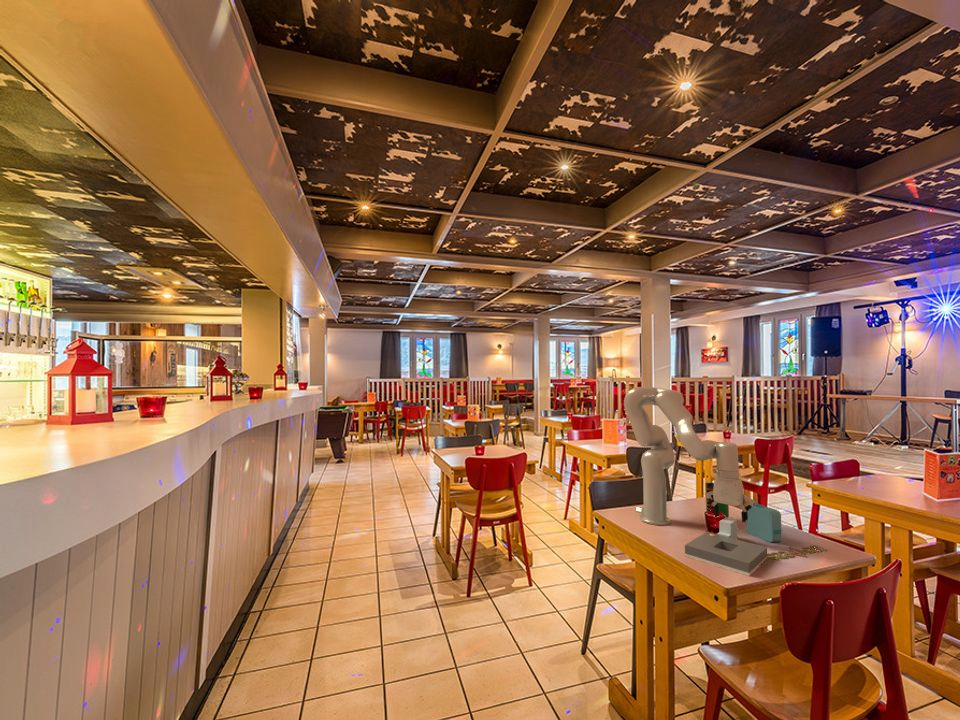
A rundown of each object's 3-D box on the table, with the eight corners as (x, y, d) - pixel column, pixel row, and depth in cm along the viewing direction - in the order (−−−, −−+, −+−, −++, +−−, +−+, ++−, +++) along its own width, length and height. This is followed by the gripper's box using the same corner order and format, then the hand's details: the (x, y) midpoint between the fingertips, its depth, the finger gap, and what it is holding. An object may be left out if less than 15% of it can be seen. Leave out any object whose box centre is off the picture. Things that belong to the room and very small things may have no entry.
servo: (717, 543, 163) (716, 520, 164) (728, 536, 171) (727, 514, 172) (728, 546, 160) (728, 522, 161) (739, 538, 168) (738, 516, 169)
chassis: (685, 556, 151) (684, 544, 151) (706, 542, 164) (706, 531, 165) (749, 576, 136) (748, 562, 136) (767, 558, 149) (767, 546, 150)
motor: (700, 517, 194) (699, 473, 195) (717, 516, 196) (716, 472, 197) (717, 524, 184) (716, 478, 185) (734, 523, 186) (733, 477, 187)
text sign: (732, 559, 150) (753, 569, 142) (732, 557, 150) (753, 566, 142) (809, 545, 163) (832, 553, 155) (809, 543, 163) (832, 551, 156)
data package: (782, 542, 165) (781, 511, 165) (772, 543, 164) (772, 512, 164) (755, 531, 176) (754, 502, 177) (746, 532, 175) (745, 503, 176)
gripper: (701, 472, 171) (703, 516, 170) (749, 479, 158) (752, 526, 157) (708, 470, 176) (710, 512, 175) (756, 476, 163) (758, 521, 162)
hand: (730, 518), depth 166 cm, fingers open, 9 cm apart
